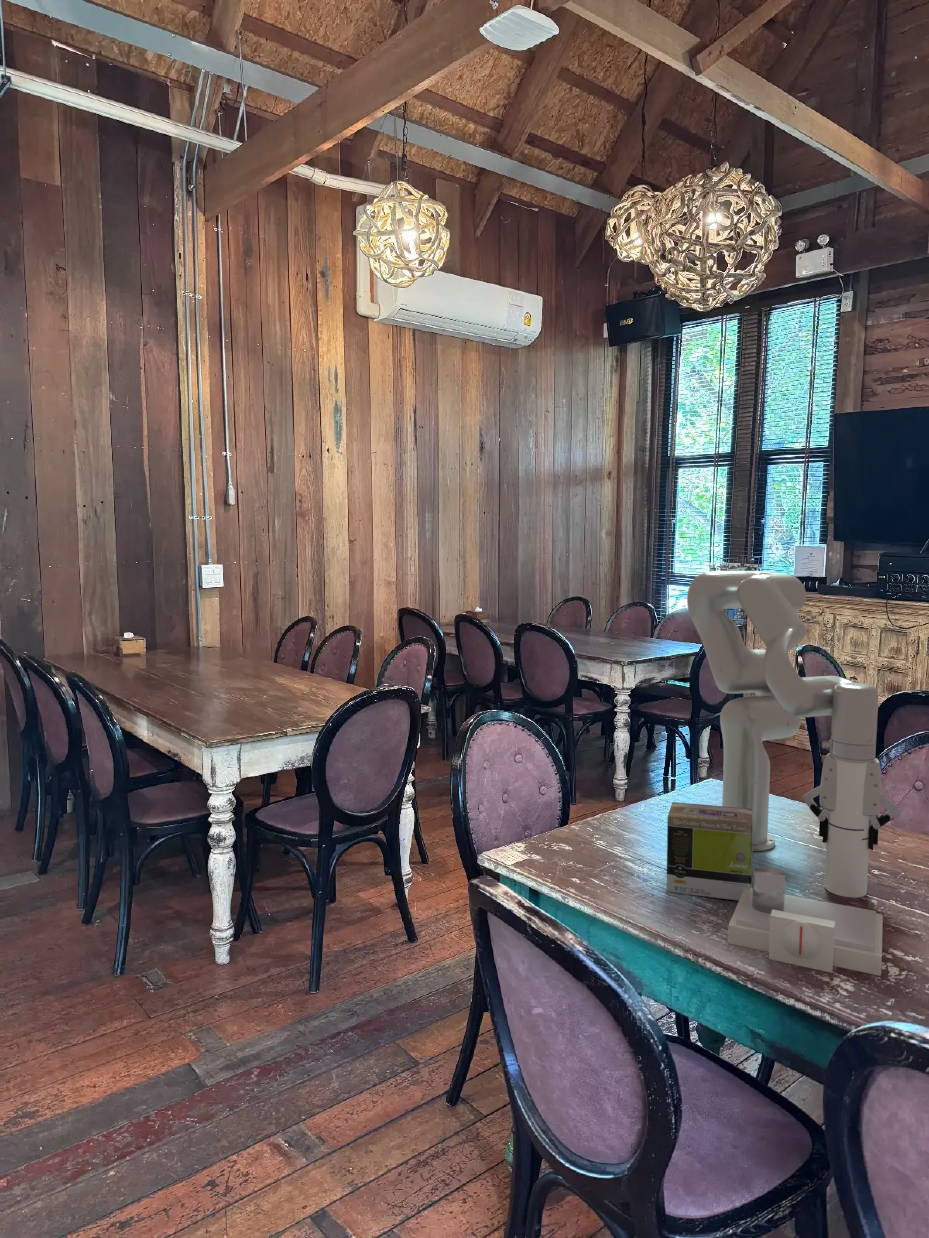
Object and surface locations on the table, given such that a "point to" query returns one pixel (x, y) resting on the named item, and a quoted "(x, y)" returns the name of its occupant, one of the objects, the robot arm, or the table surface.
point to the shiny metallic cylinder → (768, 889)
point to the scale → (811, 934)
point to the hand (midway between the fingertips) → (847, 843)
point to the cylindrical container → (848, 834)
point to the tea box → (709, 850)
